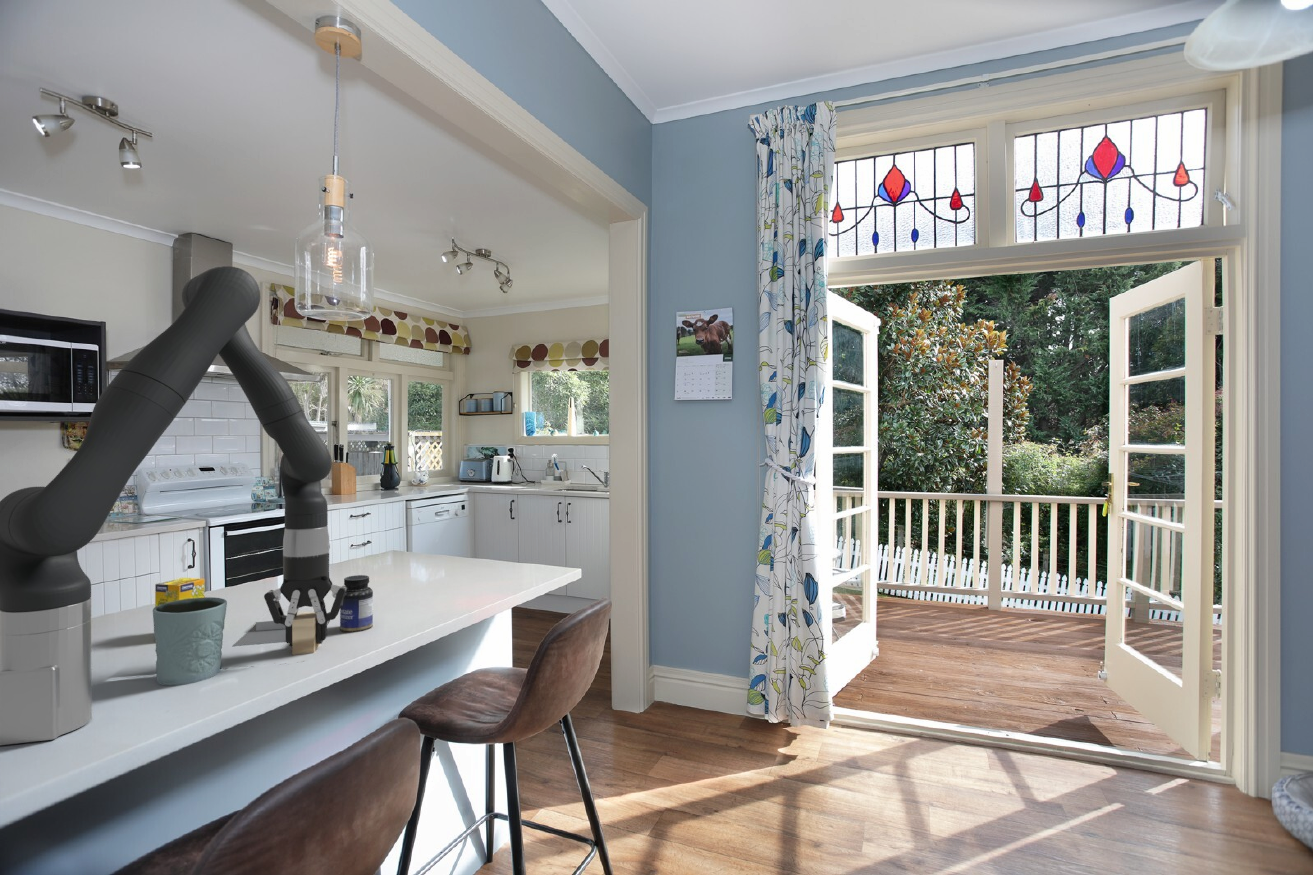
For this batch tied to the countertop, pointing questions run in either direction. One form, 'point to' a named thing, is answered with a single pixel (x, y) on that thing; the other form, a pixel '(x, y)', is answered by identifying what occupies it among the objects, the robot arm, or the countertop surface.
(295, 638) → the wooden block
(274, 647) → the countertop surface
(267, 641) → the mat
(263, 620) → the tile
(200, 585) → the supplement box
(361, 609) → the pill bottle
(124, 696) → the countertop surface
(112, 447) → the robot arm
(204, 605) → the green embossed planter
